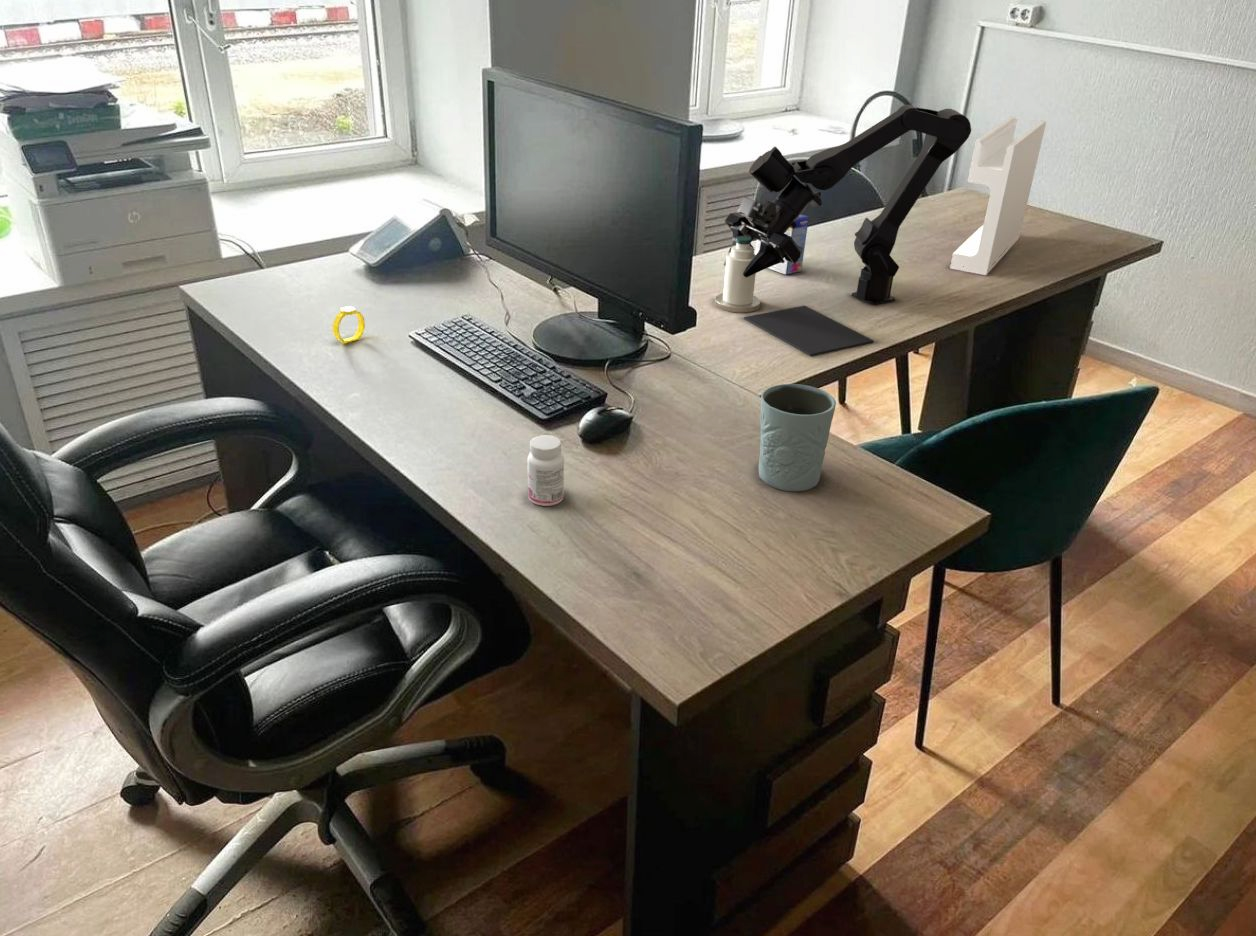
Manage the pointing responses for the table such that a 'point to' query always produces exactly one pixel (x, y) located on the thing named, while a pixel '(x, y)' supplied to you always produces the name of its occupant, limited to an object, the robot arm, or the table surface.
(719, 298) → the off-white round coaster
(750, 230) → the robot arm
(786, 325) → the felt mat
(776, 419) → the light blue embossed cup
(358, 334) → the yellow ring
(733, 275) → the bottle
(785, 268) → the ink cartridge box
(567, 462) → the table surface
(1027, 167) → the white stand
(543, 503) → the pill bottle
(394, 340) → the table surface
